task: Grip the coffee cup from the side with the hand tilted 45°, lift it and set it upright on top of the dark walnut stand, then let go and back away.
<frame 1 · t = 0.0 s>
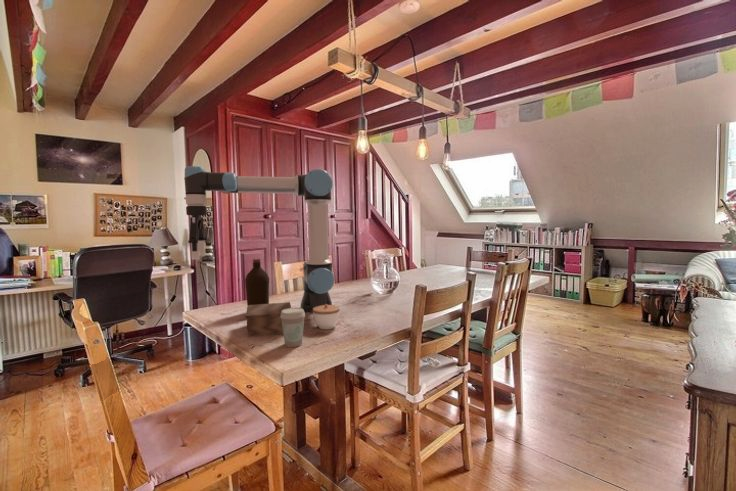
hand: (198, 257, 146), 28 cm above the table, tool pointing down, fingers open, 13 cm apart
lidded jar: (326, 327, 143), on the table
walnut stand: (269, 328, 142), on the table
coffee cup: (293, 344, 124), on the table
olive oil: (258, 313, 166), on the table
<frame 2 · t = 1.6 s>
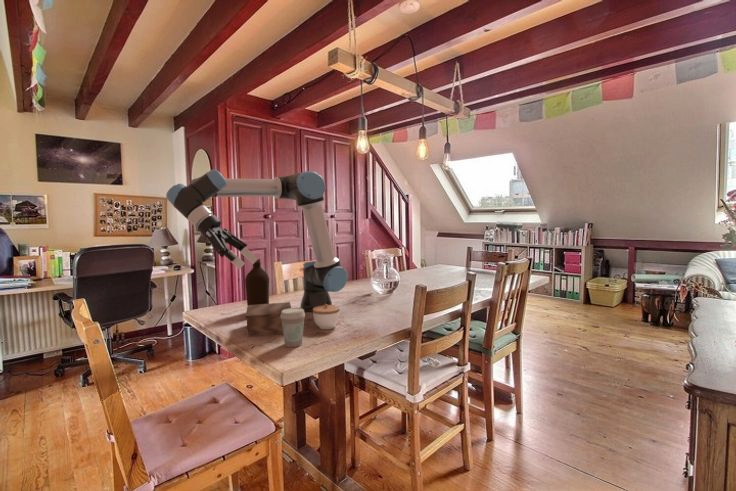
hand: (249, 264, 126), 28 cm above the table, tool tilted 45°, fingers open, 13 cm apart
nothing on the table moved.
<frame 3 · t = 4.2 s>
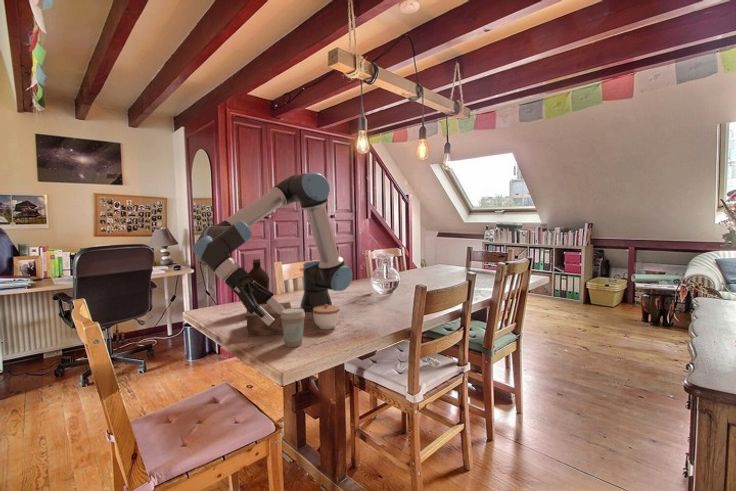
hand: (277, 317, 123), 10 cm above the table, tool tilted 45°, fingers open, 13 cm apart
nothing on the table moved.
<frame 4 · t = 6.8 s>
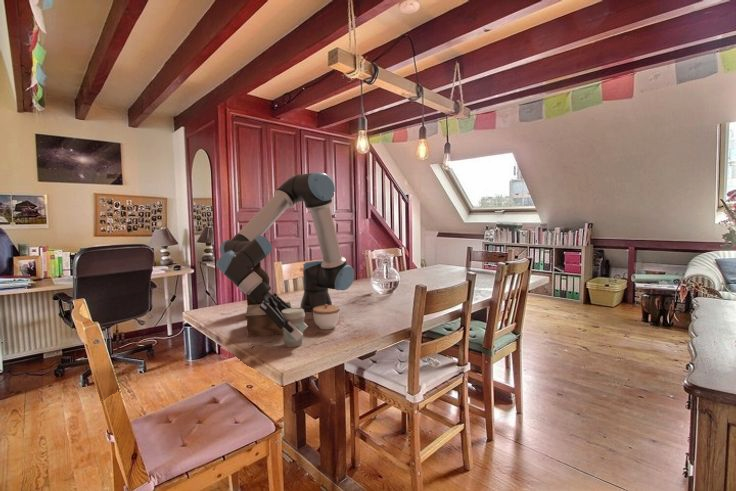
hand: (302, 333, 124), 4 cm above the table, tool tilted 45°, fingers closed on coffee cup, 8 cm apart
coffee cup: (293, 344, 124), on the table, touching gripper
everything else where it was.
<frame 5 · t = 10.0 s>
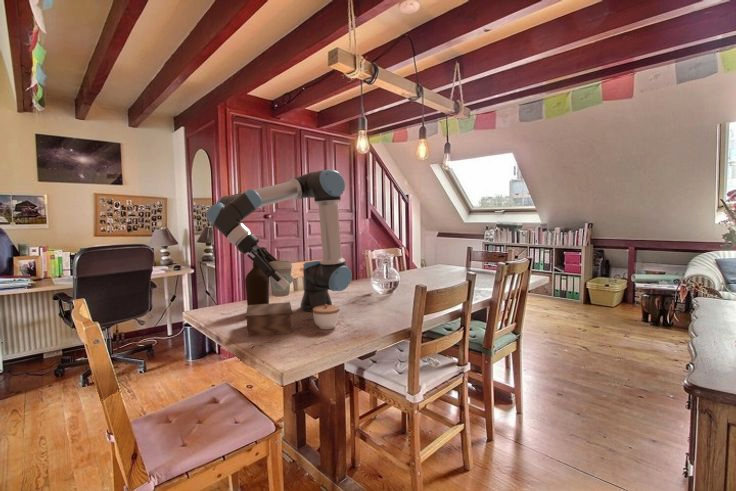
hand: (289, 284, 128), 20 cm above the table, tool tilted 45°, fingers closed on coffee cup, 8 cm apart
coffee cup: (280, 295, 129), point 16 cm above the table, touching gripper
everything else where it was.
when the fingers open (13 cm above the table, at t = 13.5 s): coffee cup drops 1 cm, resting on walnut stand.
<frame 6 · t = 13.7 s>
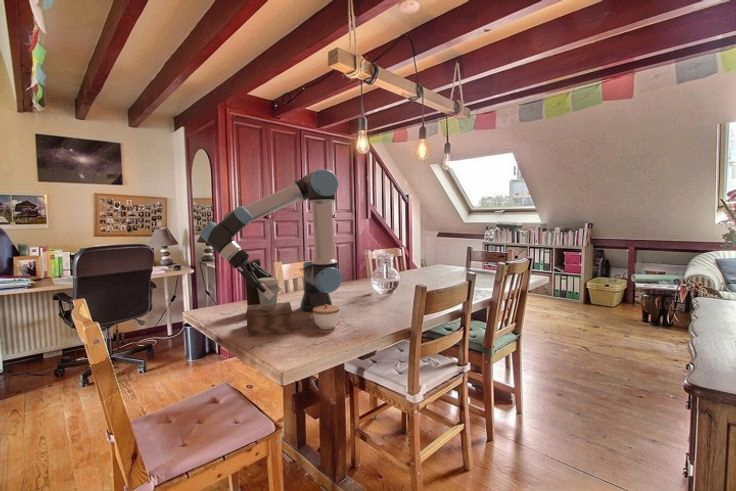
hand: (275, 294, 141), 14 cm above the table, tool tilted 45°, fingers open, 11 cm apart
coffee cup: (268, 309, 142), point 8 cm above the table, touching walnut stand
everything else where it was.
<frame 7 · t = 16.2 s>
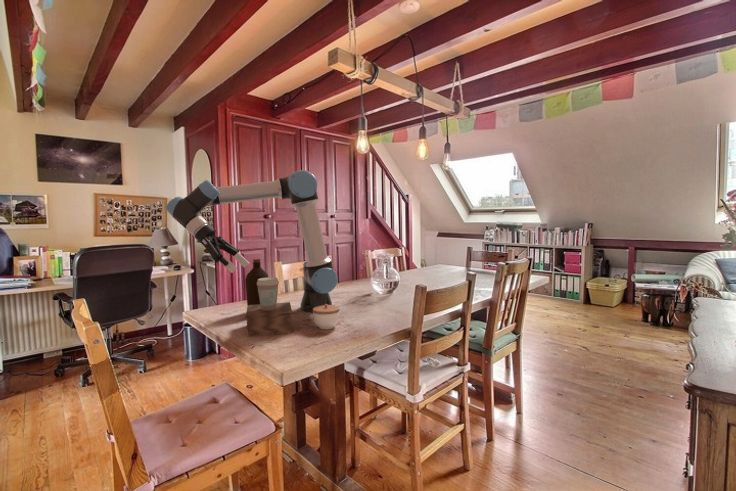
hand: (241, 268, 141), 24 cm above the table, tool tilted 45°, fingers open, 13 cm apart
nothing on the table moved.
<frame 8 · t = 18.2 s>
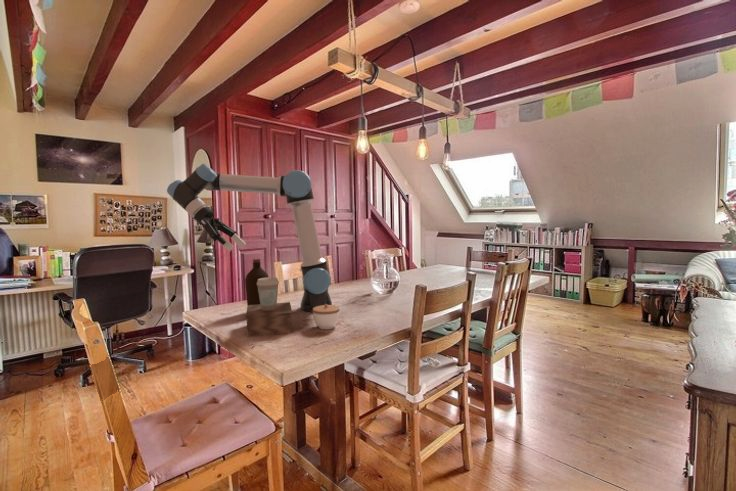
hand: (238, 247, 149), 32 cm above the table, tool tilted 45°, fingers open, 13 cm apart
nothing on the table moved.
at the end: coffee cup inside the target area on the walnut stand (0.3 cm from its centre), point 7.8 cm above the walnut stand's base; coffee cup tilted 0°; the gripper is holding nothing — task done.
